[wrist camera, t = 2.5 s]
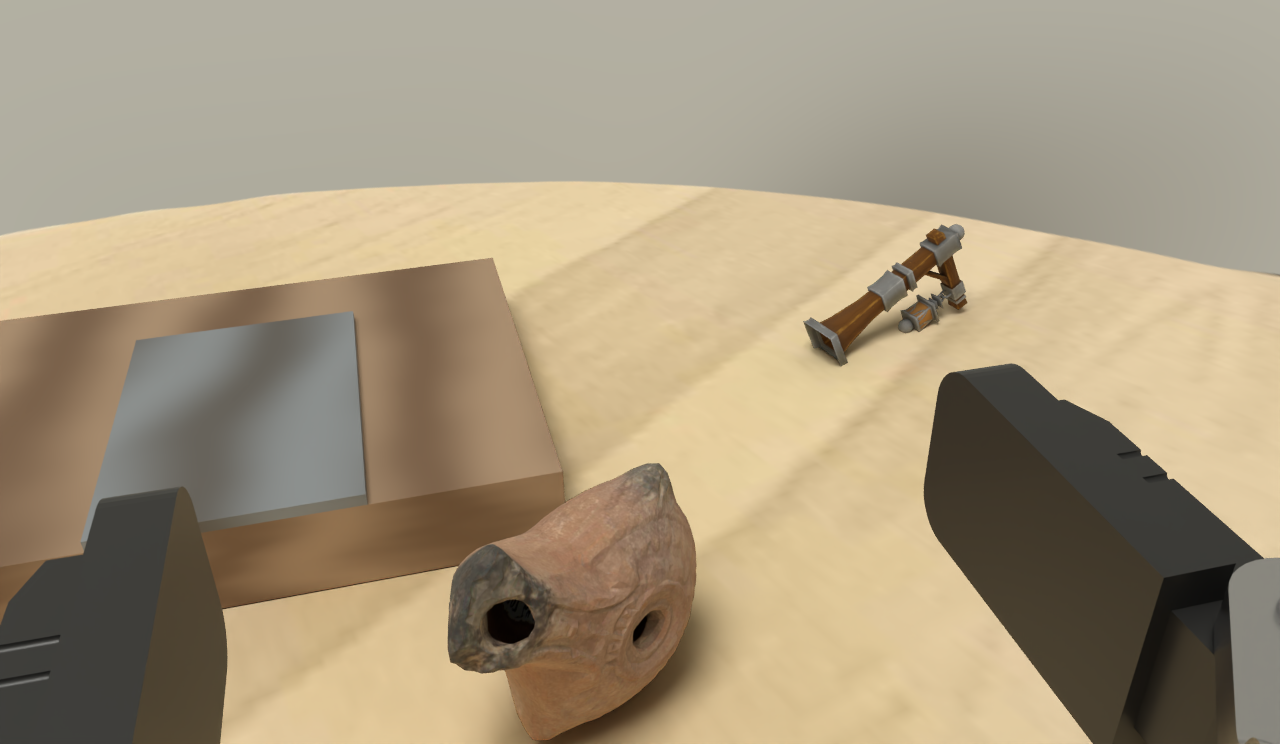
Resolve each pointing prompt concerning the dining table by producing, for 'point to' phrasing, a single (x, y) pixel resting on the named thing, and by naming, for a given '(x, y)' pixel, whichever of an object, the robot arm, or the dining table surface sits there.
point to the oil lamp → (579, 602)
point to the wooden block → (281, 427)
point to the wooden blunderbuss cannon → (897, 294)
